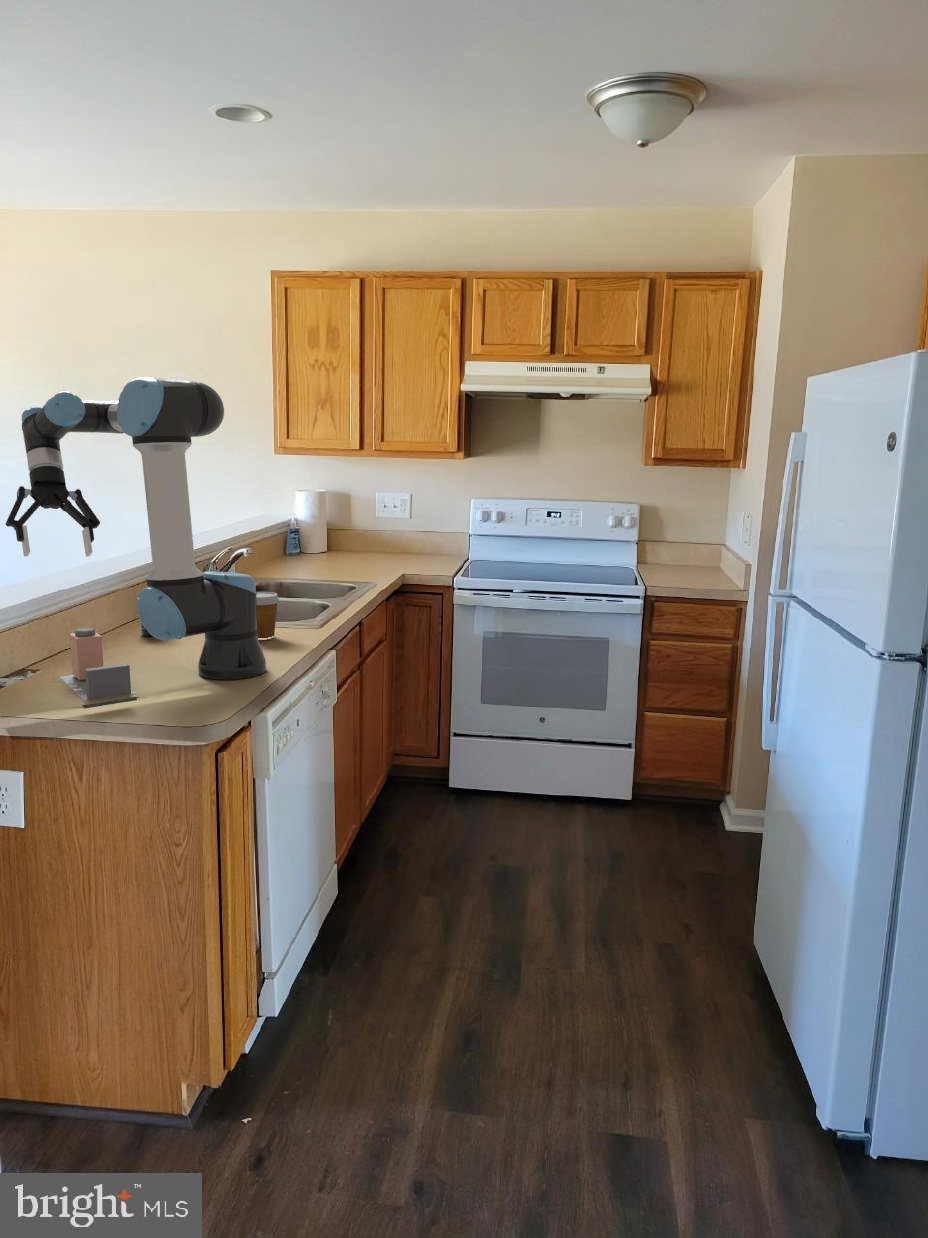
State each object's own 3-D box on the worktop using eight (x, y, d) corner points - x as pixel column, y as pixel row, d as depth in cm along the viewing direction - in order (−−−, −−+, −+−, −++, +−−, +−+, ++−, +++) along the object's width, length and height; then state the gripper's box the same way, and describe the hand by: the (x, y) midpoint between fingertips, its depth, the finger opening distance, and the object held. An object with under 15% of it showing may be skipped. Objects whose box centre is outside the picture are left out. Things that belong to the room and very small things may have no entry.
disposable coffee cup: (287, 638, 233) (286, 594, 230) (257, 643, 226) (256, 599, 223) (266, 632, 239) (265, 590, 237) (236, 638, 232) (235, 594, 230)
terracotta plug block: (72, 673, 187) (69, 629, 185) (96, 670, 190) (93, 626, 188) (79, 680, 182) (76, 634, 180) (104, 676, 185) (101, 631, 183)
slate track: (59, 683, 187) (57, 649, 185) (107, 676, 193) (105, 644, 191) (85, 708, 170) (82, 671, 168) (136, 700, 176) (134, 664, 174)
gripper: (95, 480, 215) (108, 560, 211) (-16, 474, 199) (-5, 560, 195) (105, 467, 210) (118, 548, 206) (-9, 460, 194) (3, 547, 189)
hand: (58, 554), depth 200 cm, fingers open, 13 cm apart
